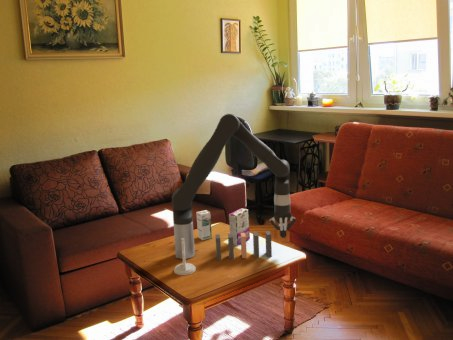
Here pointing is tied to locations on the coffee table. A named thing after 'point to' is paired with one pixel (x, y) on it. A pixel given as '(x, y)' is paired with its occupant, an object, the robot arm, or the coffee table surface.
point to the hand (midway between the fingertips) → (283, 237)
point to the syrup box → (204, 224)
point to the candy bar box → (239, 225)
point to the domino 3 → (243, 245)
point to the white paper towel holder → (184, 264)
